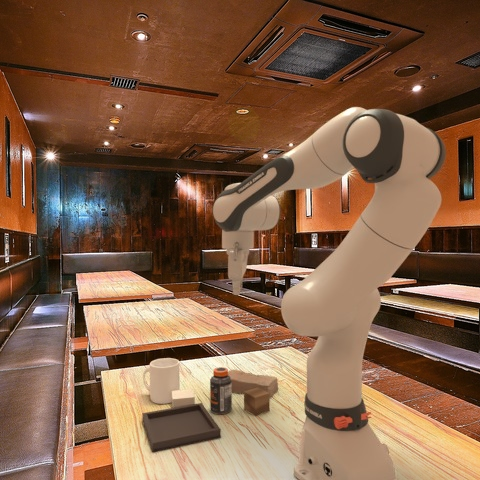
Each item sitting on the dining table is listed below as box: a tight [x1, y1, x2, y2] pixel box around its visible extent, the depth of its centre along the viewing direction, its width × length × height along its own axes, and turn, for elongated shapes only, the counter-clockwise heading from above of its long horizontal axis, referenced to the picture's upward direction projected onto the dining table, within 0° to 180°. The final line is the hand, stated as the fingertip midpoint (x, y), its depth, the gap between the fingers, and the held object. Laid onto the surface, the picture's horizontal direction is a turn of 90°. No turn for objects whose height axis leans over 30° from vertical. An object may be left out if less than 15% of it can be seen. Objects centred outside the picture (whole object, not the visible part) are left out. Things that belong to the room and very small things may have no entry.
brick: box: [228, 369, 279, 399], centre depth 121 cm, size 16×8×5 cm, turn 65°
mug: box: [142, 357, 181, 405], centre depth 115 cm, size 9×12×11 cm
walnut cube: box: [243, 388, 271, 417], centre depth 106 cm, size 5×5×5 cm
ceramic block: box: [171, 388, 196, 408], centre depth 109 cm, size 6×6×4 cm
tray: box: [141, 402, 222, 453], centre depth 96 cm, size 16×16×2 cm
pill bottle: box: [209, 366, 233, 415], centre depth 107 cm, size 6×6×11 cm
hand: (237, 291), depth 108 cm, fingers open, 8 cm apart
